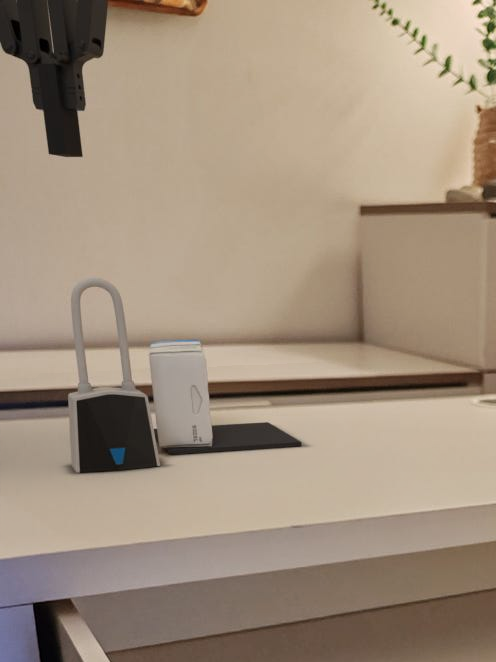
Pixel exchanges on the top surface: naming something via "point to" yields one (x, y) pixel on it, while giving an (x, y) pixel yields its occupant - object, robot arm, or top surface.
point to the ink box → (180, 393)
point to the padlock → (108, 406)
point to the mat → (240, 438)
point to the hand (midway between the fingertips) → (65, 155)
